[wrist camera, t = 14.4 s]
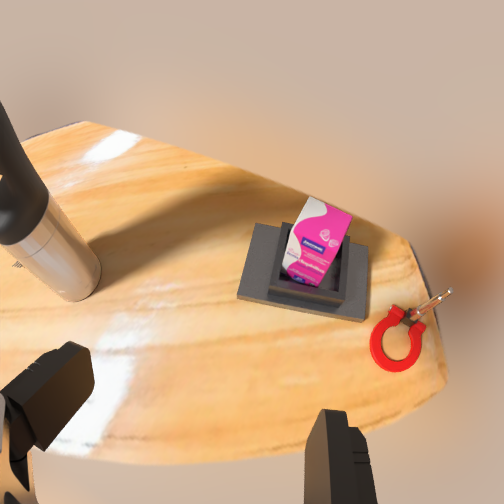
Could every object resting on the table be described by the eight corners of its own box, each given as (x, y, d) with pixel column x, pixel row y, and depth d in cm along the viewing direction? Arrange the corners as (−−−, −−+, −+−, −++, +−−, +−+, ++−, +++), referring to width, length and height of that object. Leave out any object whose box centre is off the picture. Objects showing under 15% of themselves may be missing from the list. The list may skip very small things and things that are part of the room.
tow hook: (403, 382, 36) (427, 329, 40) (454, 370, 25) (476, 301, 28) (358, 355, 39) (385, 302, 42) (398, 335, 27) (426, 266, 31)
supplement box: (278, 274, 42) (289, 228, 32) (296, 243, 45) (310, 193, 35) (315, 293, 41) (338, 252, 31) (331, 260, 44) (354, 213, 34)
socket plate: (237, 298, 42) (236, 285, 38) (255, 228, 48) (256, 211, 44) (360, 322, 40) (372, 312, 36) (365, 251, 46) (374, 236, 42)
